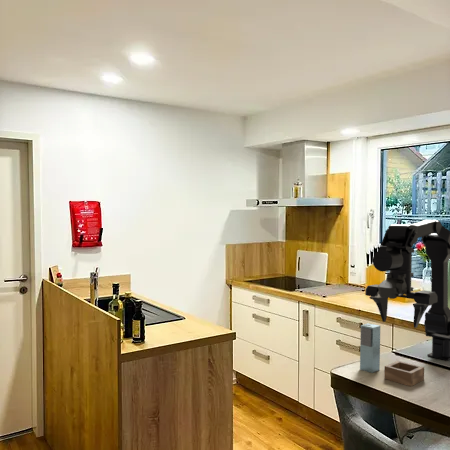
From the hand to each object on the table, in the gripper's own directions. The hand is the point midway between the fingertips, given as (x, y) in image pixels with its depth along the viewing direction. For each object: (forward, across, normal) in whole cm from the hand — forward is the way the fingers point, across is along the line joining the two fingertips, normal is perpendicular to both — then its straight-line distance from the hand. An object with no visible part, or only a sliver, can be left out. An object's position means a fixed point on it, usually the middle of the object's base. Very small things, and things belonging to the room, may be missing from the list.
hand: (399, 324), depth 131 cm
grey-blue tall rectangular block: (+14, -8, -2) cm, 17 cm away
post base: (+14, +2, -2) cm, 15 cm away
